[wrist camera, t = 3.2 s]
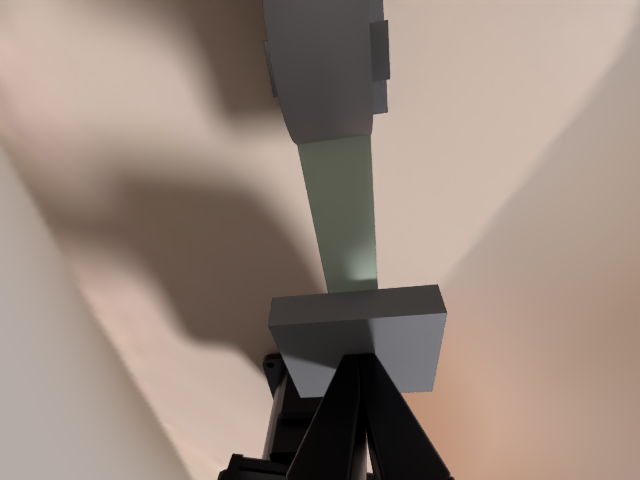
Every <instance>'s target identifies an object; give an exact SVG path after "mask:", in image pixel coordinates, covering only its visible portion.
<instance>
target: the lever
mask: <svg viewBox="0 0 640 480" xmlns="http://www.w3.org/2000/svg"><path fill="white" fill-rule="evenodd" d="M263 11H264V20H265V28H266V35H267V42H268V48H269V54H270V60H271V65H272V70H273V75H274V80H275V85H276V89H277V94H278V98H279V102H280V106H281V109H282V113H283V116H284V120H285V123H286V126H287V129H288V131H289V134H290V136H291V138H292V140H293V142H294V143H295V144H297V147H298V151H299V156H300V161H301V166H302V170H303V175H304V180H305V185H306V190H307V194H308V199H309V204H310V209H311V213H312V218H313V223H314V228H315V232H316V237H317V242H318V247H319V252H320V256H321V261H322V266H323V271H324V275H325V280H326V285H327V290H328V294H315V295H303V296H291V297H279V298H272V305H271V311H270V318H269V324H268V326H269V329H270V331H271V333H272V335H273V338H274V340H275V342H276V344H277V346H278V349H279V351H280V353H281V355H282V357H283V360H284V362H285V364H286V366H287V368H288V371H289V373H290V375H291V377H292V379H293V382H294V384H295V386H296V388H297V391H298V393H299V395H300V397H301V398H303V397H324V394H325V392H326V390H327V388H328V386H329V384H330V382H331V380H332V378H333V376H334V373H335V371H336V369H337V367H338V365H339V363H340V361H341V359H342V357H343V355H347V354H358V355H359V357H360V354H364V353H375V354H376V355H377V357H378V358H379V360H380V361H381V363H382V365H383V366H384V368H385V369H386V371H387V373H388V374H389V376H390V377H391V379H392V381H393V382H394V384H395V385H396V387H397V389H398V390H399V392H400V393H409V392H410V393H411V392H432V390H433V385H434V380H435V375H436V369H437V364H438V359H439V353H440V348H441V343H442V338H443V332H444V327H445V322H446V317H447V311H446V308H445V305H444V302H443V299H442V296H441V293H440V290H439V287H438V284H437V285H425V286H413V287H401V288H389V289H378V282H377V261H376V240H375V219H374V198H373V177H372V156H371V133H372V124H373V85H372V60H371V42H370V27H369V14H368V3H367V0H263Z"/></svg>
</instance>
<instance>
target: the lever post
mask: <svg viewBox="0 0 640 480" xmlns="http://www.w3.org/2000/svg"><path fill="white" fill-rule="evenodd" d="M367 3H368V14H369V27H370V42H371V60H372V85H373V114H380V113H387V112H388V107H387V84H386V80H388V79H390V63H389V37H388V20H385V21H384V13H383V0H367ZM263 42H264V47H265V52H266V58H267V63H268V68H269V74H270V79H271V84H272V90H273V95H274V97H276V96H278V94H277V89H276V85H275V80H274V75H273V70H272V65H271V60H270V54H269V48H268V42H267V41H263Z"/></svg>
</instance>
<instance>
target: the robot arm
mask: <svg viewBox="0 0 640 480" xmlns="http://www.w3.org/2000/svg"><path fill="white" fill-rule="evenodd" d="M270 362H272V363H270ZM263 368H264V371H265V374H266V377H267V381H268V384H269V387H270V390H271V393H272V397H273V400H274V401H273V406H272V411H271V416H270V421H269V426H268V431H267V437H266V442H265V447H264V452H263V457H262V459H257V458H249V457H243V455H242V454H234V453H233V454H232V457H231V459H230V462H229V465H228V468H227V469H226V470H224V471H221V472H220V473H219V476H218V479H217V480H455V479H454V478H453V477H450V472H449V470H448V468H447V467H446V465H445V464H444V462H443V460H442V459H441V457H440V456H439V454H438V452H437V451H436V449H435V448H434V446H433V445H432V443H431V441H430V440H429V438H428V437H427V435H426V433H425V432H424V430H423V429H422V427H421V425H420V424H419V422H418V421H417V419H416V417H415V416H414V414H413V413H412V411H411V409H410V408H409V406H408V405H407V403H406V401H405V400H404V398H403V397H402V395H401V393H400V392H399V390H398V389H397V387H396V385H395V384H394V382H393V381H392V379H391V377H390V376H389V374H388V373H387V371H386V369H385V368H384V366H383V365H382V363H381V361H380V360H379V358H378V357H377V355H376V354H375V353H364V354H360V357H359V355H358V354H347V355H343V357H342V359H341V361H340V363H339V365H338V367H337V369H336V371H335V373H334V376H333V378H332V380H331V382H330V384H329V386H328V388H327V390H326V392H325V394H324V397H303V398H301V397H300V395H299V393H298V391H297V388H296V386H295V384H294V382H293V379H292V377H291V375H290V373H289V371H288V368H287V366H286V364H285V362H284V360H283V357H282V355H281V354H272V355H267V356H265V358H264V360H263ZM366 433H367V435H366ZM367 442H368V448H369V454H370V460H371V465H372V470H373V473H368V472H367Z"/></svg>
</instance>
